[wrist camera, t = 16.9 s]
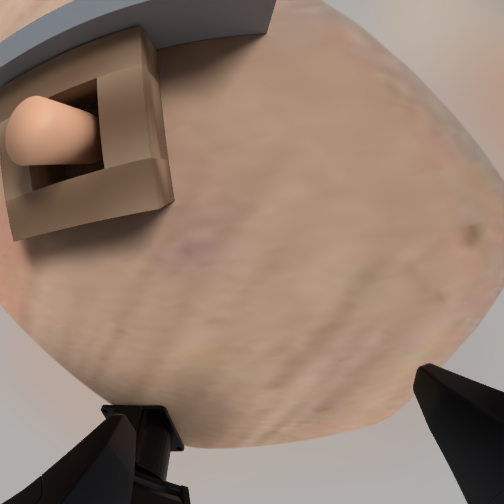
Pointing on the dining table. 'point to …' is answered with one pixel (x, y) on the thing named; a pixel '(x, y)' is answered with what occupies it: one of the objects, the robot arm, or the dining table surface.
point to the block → (111, 130)
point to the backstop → (128, 27)
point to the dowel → (52, 134)
